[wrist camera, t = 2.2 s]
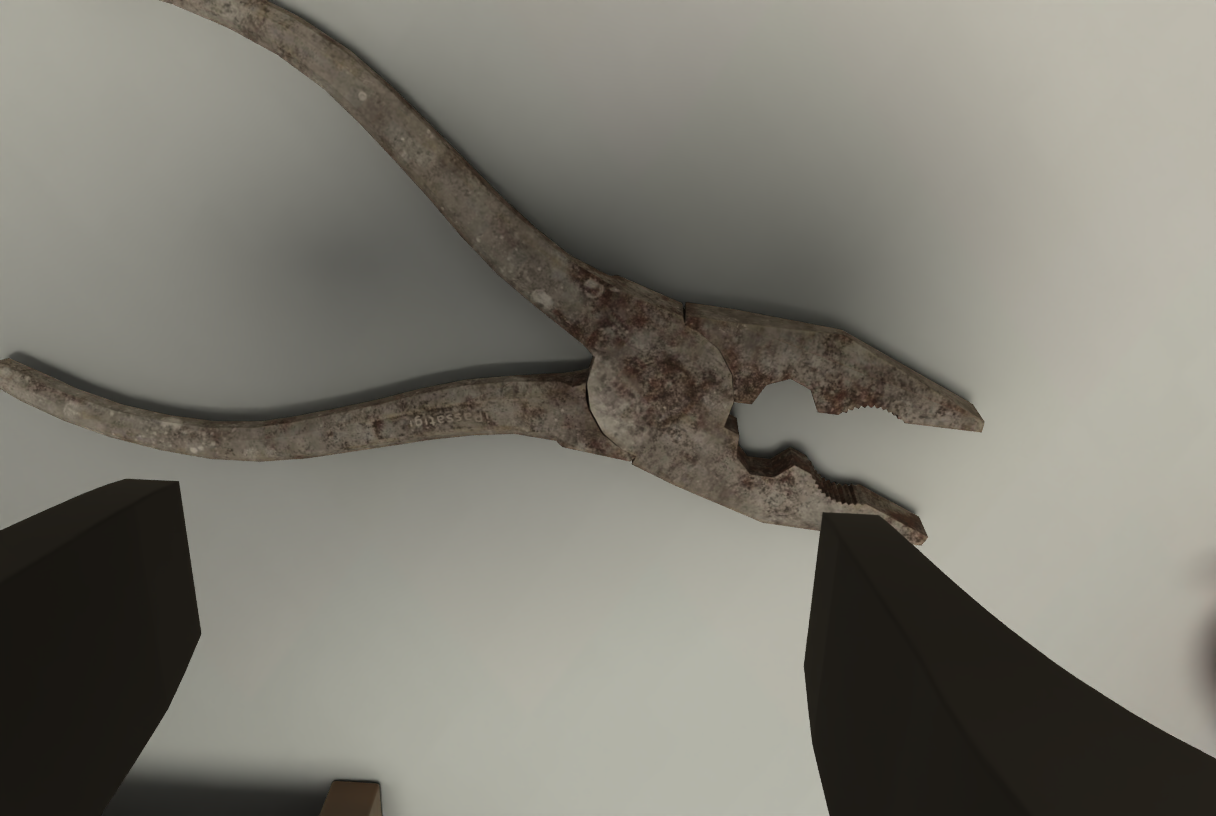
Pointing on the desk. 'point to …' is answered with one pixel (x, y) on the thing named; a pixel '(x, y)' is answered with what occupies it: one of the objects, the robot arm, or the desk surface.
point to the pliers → (588, 310)
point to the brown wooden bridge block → (352, 799)
